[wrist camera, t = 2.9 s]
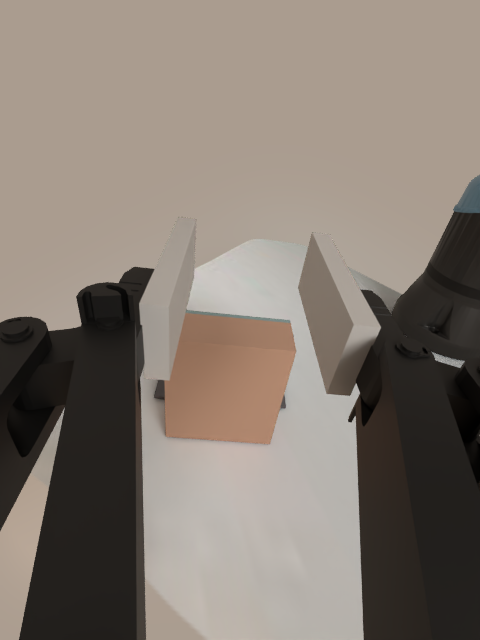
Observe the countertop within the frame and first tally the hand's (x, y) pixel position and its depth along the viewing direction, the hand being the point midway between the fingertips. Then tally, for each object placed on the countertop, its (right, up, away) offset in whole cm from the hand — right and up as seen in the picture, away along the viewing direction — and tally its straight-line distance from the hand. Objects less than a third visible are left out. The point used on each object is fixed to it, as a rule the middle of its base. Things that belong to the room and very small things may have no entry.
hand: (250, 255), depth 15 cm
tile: (-3, -13, +19) cm, 23 cm away
